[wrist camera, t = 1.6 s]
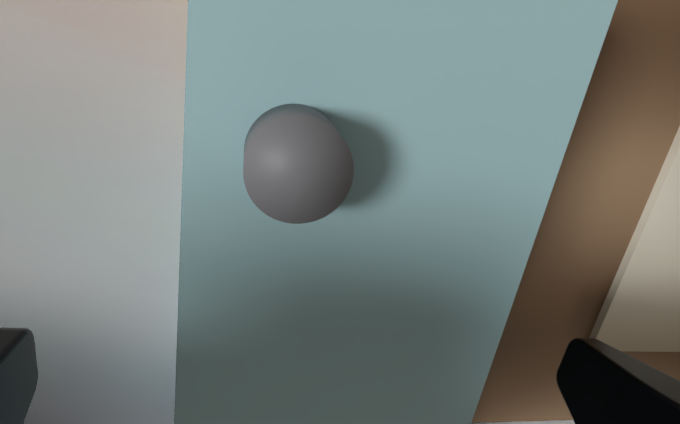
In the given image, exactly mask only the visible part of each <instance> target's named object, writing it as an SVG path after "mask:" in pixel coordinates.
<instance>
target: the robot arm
mask: <svg viewBox="0 0 680 424" xmlns="http://www.w3.org/2000/svg"><path fill="white" fill-rule="evenodd" d="M37 379H38V370H37V361H36V351H35V342H34V336H33V333H32V331H30V330H29V329H27V328H0V424H23V422H24V419H25V417H26V414H27V411H28V408H29V406H30V403H31V400H32V398H33V395H34V392H35V389H36V385H37ZM556 380H557V385H558V387H559V390H560V392H561V394H562V396H563V398H564V401H565V403H566V405H567V407H568V409H569V411H570V413H571V416H572V418H573V420H574V422H575V424H680V381H679V380H677V379H675V378H673V377H671V376H669V375H667V374H665V373H663V372H661V371H659V370H657V369H655V368H653V367H651V366H649V365H647V364H645V363H643V362H641V361H639V360H637V359H635V358H633V357H631V356H629V355H627V354H625V353H623V352H621V351H620V350H618V349H616V348H614V347H612V346H610V345H608V344H606V343H604V342H602V341H600V340H597V339H594V338H575V339H572V340H571V341H570V342H569V344H568V346H567V348H566V351H565V353H564V356H563V358H562V361H561V363H560V365H559V368H558V370H557V375H556Z"/></svg>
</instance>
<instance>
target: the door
mask: <svg viewBox="0 0 680 424" xmlns="http://www.w3.org/2000/svg"><path fill="white" fill-rule="evenodd" d="M617 2H618V0H188V20H187V51H186V81H185V112H184V143H183V173H182V204H181V234H180V265H179V295H178V326H177V357H176V387H175V418H174V424H471V422H472V419H473V416H474V414H475V411H476V408H477V405H478V402H479V399H480V396H481V393H482V391H483V388H484V385H485V382H486V379H487V376H488V373H489V370H490V368H491V365H492V362H493V359H494V356H495V353H496V350H497V347H498V345H499V342H500V339H501V336H502V333H503V330H504V327H505V324H506V321H507V319H508V316H509V313H510V310H511V307H512V304H513V301H514V298H515V296H516V293H517V290H518V287H519V284H520V281H521V278H522V275H523V273H524V270H525V267H526V264H527V261H528V258H529V255H530V252H531V250H532V247H533V244H534V241H535V238H536V235H537V232H538V229H539V226H540V224H541V221H542V218H543V215H544V212H545V209H546V206H547V203H548V201H549V198H550V195H551V192H552V189H553V186H554V183H555V180H556V178H557V175H558V172H559V169H560V166H561V163H562V160H563V157H564V154H565V152H566V149H567V146H568V143H569V140H570V137H571V134H572V131H573V129H574V126H575V123H576V120H577V117H578V114H579V111H580V108H581V106H582V103H583V100H584V97H585V94H586V91H587V88H588V85H589V83H590V80H591V77H592V74H593V71H594V68H595V65H596V62H597V59H598V57H599V54H600V51H601V48H602V45H603V42H604V39H605V36H606V34H607V31H608V28H609V25H610V22H611V19H612V16H613V13H614V11H615V8H616V5H617Z"/></svg>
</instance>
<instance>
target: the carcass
mask: <svg viewBox="0 0 680 424" xmlns="http://www.w3.org/2000/svg"><path fill="white" fill-rule="evenodd" d="M575 338H594V339H597V340H600V341H602V342H604V343H606V344H608V345H610V346H612V347H614V348H616V349H618V350H620V351H621V352H623V353H625V354H627V355H629V356H631V357H633V358H635V359H637V360H639V361H641V362H643V363H645V364H647V365H649V366H651V367H653V368H655V369H657V370H659V371H661V372H663V373H665V374H667V375H669V376H671V377H673V378H675V379H677V380H679V381H680V0H618V2H617V5H616V8H615V11H614V13H613V16H612V19H611V22H610V25H609V28H608V31H607V34H606V36H605V39H604V42H603V45H602V48H601V51H600V54H599V57H598V59H597V62H596V65H595V68H594V71H593V74H592V77H591V80H590V83H589V85H588V88H587V91H586V94H585V97H584V100H583V103H582V106H581V108H580V111H579V114H578V117H577V120H576V123H575V126H574V129H573V131H572V134H571V137H570V140H569V143H568V146H567V149H566V152H565V154H564V157H563V160H562V163H561V166H560V169H559V172H558V175H557V178H556V180H555V183H554V186H553V189H552V192H551V195H550V198H549V201H548V203H547V206H546V209H545V212H544V215H543V218H542V221H541V224H540V226H539V229H538V232H537V235H536V238H535V241H534V244H533V247H532V250H531V252H530V255H529V258H528V261H527V264H526V267H525V270H524V273H523V275H522V278H521V281H520V284H519V287H518V290H517V293H516V296H515V298H514V301H513V304H512V307H511V310H510V313H509V316H508V319H507V321H506V324H505V327H504V330H503V333H502V336H501V339H500V342H499V345H498V347H497V350H496V353H495V356H494V359H493V362H492V365H491V368H490V370H489V373H488V376H487V379H486V382H485V385H484V388H483V391H482V393H481V396H480V399H479V402H478V405H477V408H476V411H475V414H474V416H473V419H472V422H471V423H473V422H512V421H550V420H573V418H572V416H571V413H570V411H569V409H568V407H567V405H566V403H565V401H564V398H563V396H562V394H561V392H560V390H559V387H558V385H557V380H556V375H557V370H558V368H559V365H560V363H561V361H562V358H563V356H564V353H565V351H566V348H567V346H568V344H569V342H570V341H571V340H572V339H575Z"/></svg>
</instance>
